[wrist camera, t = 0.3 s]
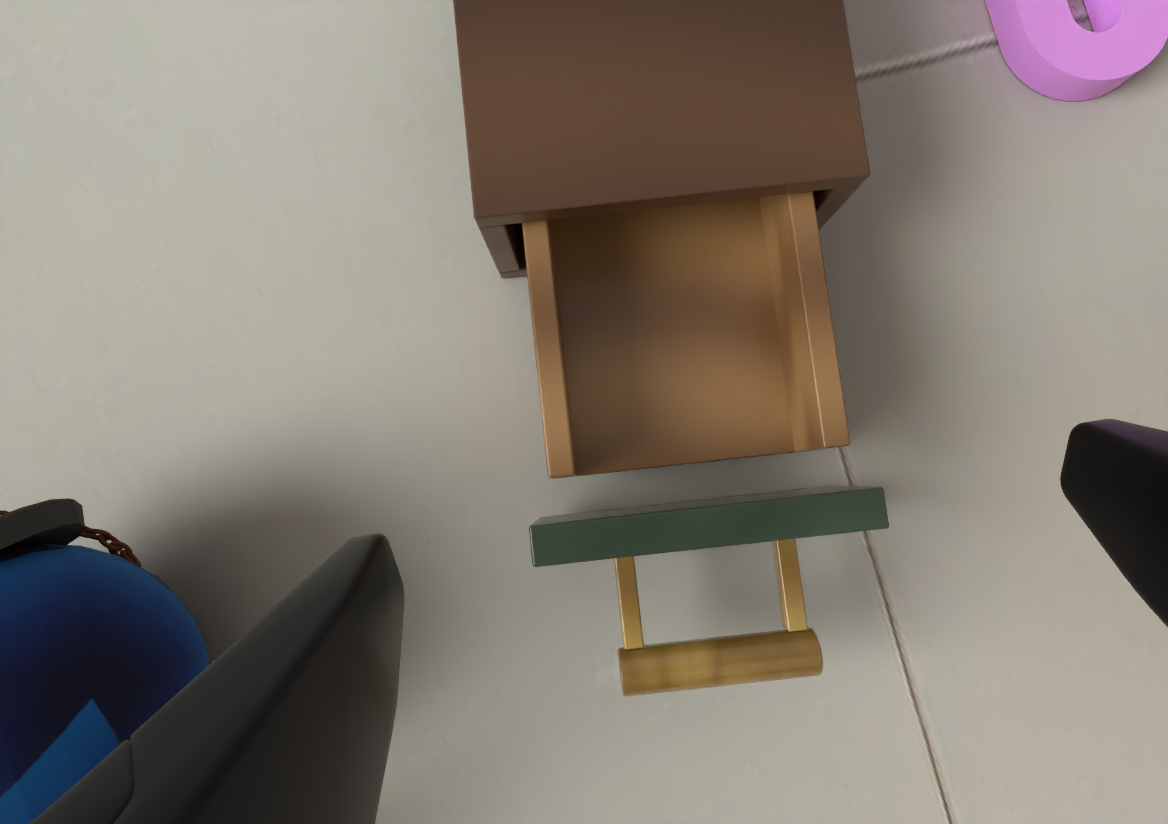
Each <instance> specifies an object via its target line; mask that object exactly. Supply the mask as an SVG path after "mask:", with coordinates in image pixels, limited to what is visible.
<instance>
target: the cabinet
mask: <svg viewBox="0 0 1168 824" xmlns="http://www.w3.org/2000/svg"><path fill="white" fill-rule="evenodd" d="M453 3H454V13H455V24H456V34H457V45H458V55H459V65H460V76H461V86H462V96H463V107H464V117H465V127H466V138H467V148H468V159H469V169H470V179H471V190H472V200H473V210H474V218H475V220H476V222H477V225H478V227H479V229H480V231H481V233H482V236H483V238H484V240H485V242H486V245H487V247H488V249H489V251H490V254H491V256H492V258H493V260H494V262H495V265H496V267H497V269H498V271H499V273H500V275H501V277H502V278H511V277H520V276H527V266H526V257H525V247H524V237H523V228H522V223H525V222H534V221H543V220H552V219H561V218H570V217H580V216H589V215H598V214H607V213H616V212H625V211H634V210H644V209H653V208H662V207H671V206H680V205H689V204H698V203H708V202H717V201H726V200H735V199H744V198H753V197H763V196H772V195H781V194H790V193H799V192H808V191H813V195H814V202H815V209H816V216H817V223H818V229H819V230H820V229H821V228H822V227H823V225H824V224H825V223H826V222H827V221H828V220H829V219H830V218H831V217H832V216H833V215H834V213H835V212H836V211H837V210H838V209H839V208H840V207H841V206H842V205H843V204H844V203H845V202H846V200H847V199H848V198H849V197H850V196H851V195H852V194H853V193H854V192H855V191H856V190H857V188H858V187H859V186H860V185H861V184H862V183H863V182H864V181H865V180H866V179H867V178H868V176H869V175H870V170H869V164H868V157H867V151H866V145H865V138H864V132H863V125H862V119H861V113H860V106H859V100H858V93H857V87H856V81H855V74H854V68H853V61H852V55H851V48H850V42H849V36H848V29H847V23H846V16H845V10H844V4H843V0H453Z"/></svg>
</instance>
